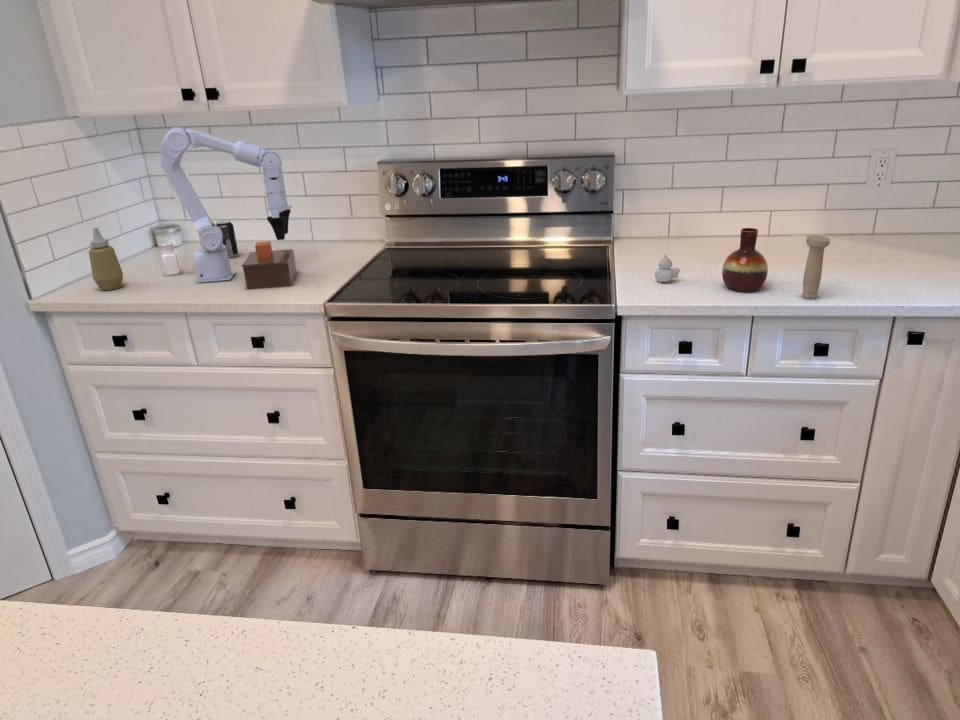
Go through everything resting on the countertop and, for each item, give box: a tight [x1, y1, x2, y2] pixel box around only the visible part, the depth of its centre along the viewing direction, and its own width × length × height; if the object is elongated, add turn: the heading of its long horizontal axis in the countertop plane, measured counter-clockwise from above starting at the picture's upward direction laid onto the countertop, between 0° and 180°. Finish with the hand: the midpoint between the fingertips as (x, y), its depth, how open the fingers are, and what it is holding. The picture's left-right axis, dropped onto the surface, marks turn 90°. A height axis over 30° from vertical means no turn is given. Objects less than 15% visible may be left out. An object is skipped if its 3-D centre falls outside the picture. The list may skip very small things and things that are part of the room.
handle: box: [802, 234, 831, 300], centre depth 170 cm, size 5×6×15 cm
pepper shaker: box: [160, 242, 181, 276], centre depth 216 cm, size 4×4×10 cm
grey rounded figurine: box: [653, 253, 681, 283], centre depth 188 cm, size 5×7×8 cm
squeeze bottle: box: [88, 227, 124, 291], centre depth 202 cm, size 8×8×18 cm
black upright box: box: [215, 219, 239, 259], centre depth 232 cm, size 6×6×12 cm
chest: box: [242, 250, 298, 290], centre depth 205 cm, size 14×13×7 cm
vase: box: [721, 227, 769, 293], centre depth 179 cm, size 11×11×15 cm
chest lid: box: [241, 248, 294, 268], centre depth 203 cm, size 14×13×1 cm
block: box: [254, 240, 273, 259], centre depth 202 cm, size 4×4×4 cm
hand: (282, 236), depth 212 cm, fingers open, 7 cm apart
